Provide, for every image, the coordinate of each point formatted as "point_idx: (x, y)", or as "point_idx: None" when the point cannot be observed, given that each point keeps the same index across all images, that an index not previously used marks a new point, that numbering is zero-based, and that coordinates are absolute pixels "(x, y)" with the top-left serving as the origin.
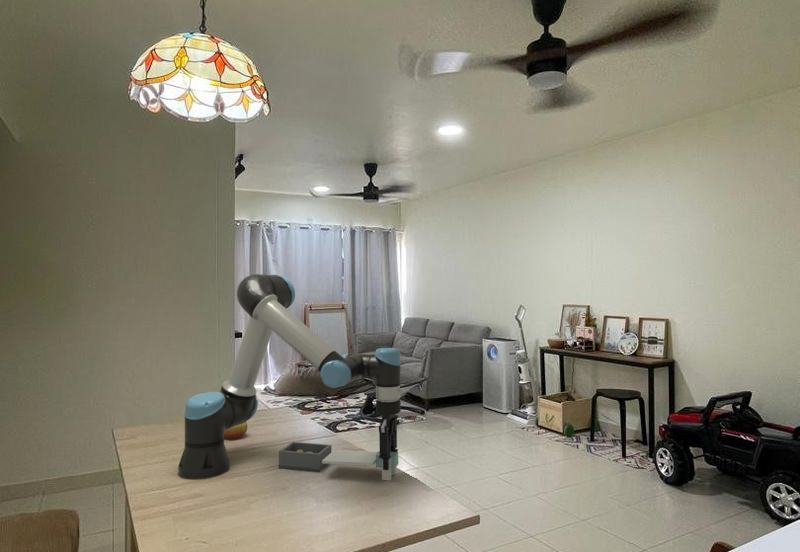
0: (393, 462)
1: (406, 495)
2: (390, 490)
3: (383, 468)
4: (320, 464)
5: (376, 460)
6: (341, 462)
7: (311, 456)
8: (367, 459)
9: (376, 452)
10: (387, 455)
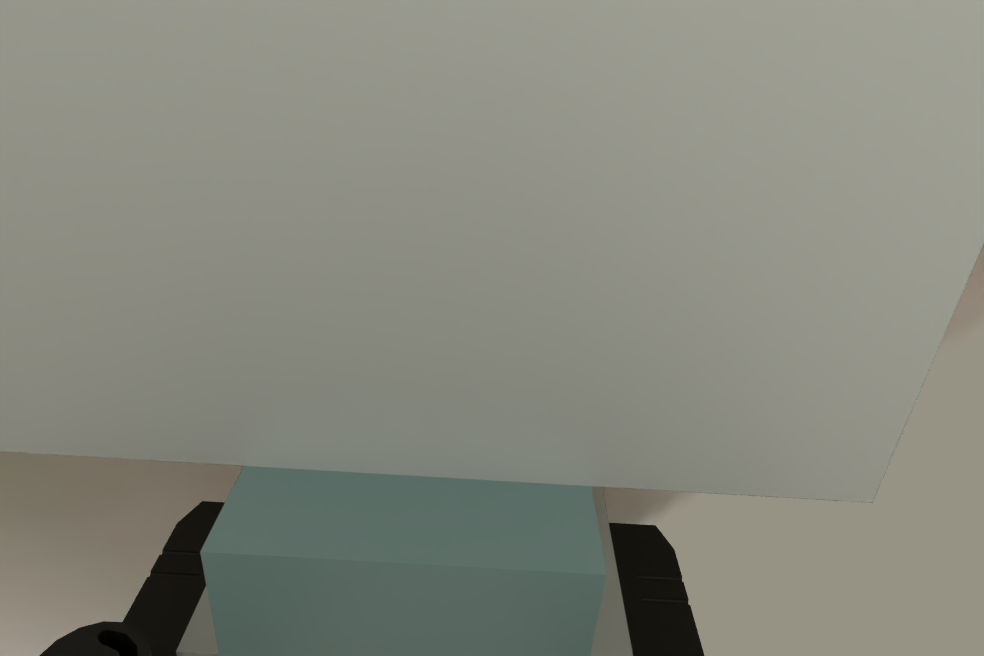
0: None
1: (7, 631)
2: (43, 493)
3: (179, 527)
4: None
5: (249, 469)
6: None
7: None
8: (185, 262)
9: (858, 376)
10: None
